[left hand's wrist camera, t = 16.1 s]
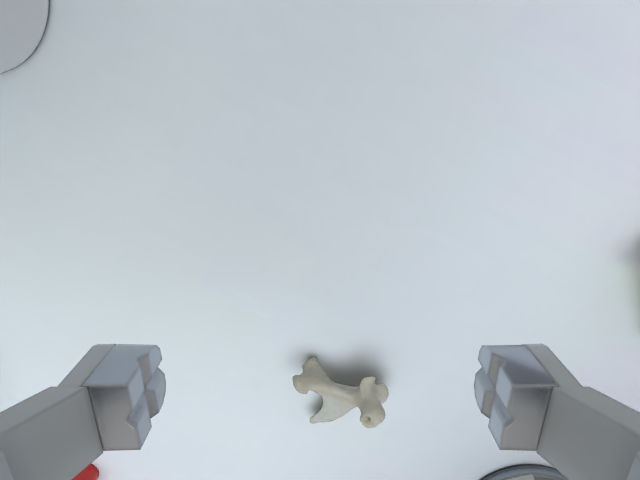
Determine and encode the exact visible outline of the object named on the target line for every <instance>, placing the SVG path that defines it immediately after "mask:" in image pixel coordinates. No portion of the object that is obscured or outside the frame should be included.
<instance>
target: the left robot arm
mask: <svg viewBox="0 0 640 480" xmlns="http://www.w3.org/2000/svg"><path fill="white" fill-rule="evenodd" d="M48 8H49V0H0V73H3V72H6V71H9V70H11V69H13V68H15V67H17V66H19V65H20V64H21V63H23V62H24V61H25V60H26V59H27V58H28V57H29V56H30V55H31V54H32V53H33V52H34V50H35V49H36V47H37V46H38V44H39V42H40V40H41V38H42V36H43V33H44V30H45V27H46V23H47V18H48ZM161 360H162V356H161V352H160V348H159V347H158V346H157V345H134V344H117V345H116V344H97V345H94V346H93V347H92V348H91V349H90V350H89V351H88V352H87V353H86V355H85V356H84V357H83V358H82V359H81V360H80V361H79V362H78V364H77V365H76V366H75V367H74V368H73V369H72V370H71V372H70V373H69V374H68V375H67V376H66V377H65V378H64V380H63V381H62V382H61V383H60V384H59V385H58V386H57V387H49V388H47V389H45V390H43V391H41V392H39V393H37V394H36V395H34V396H32V397H30V398H28V399H26V400H24V401H22V402H20V403H18V404H16V405H14V406H12V407H10V408H8V409H6V410H4V411H2V412H0V480H72V479H73V478H74V477H75V476H76V475H78V474H79V473H80V472H81V471H82V470H83V469H85V468H86V467H87V466H88V465H89V464H91V463H92V462H93V461H94V460H95V459H96V458H98V457H99V456H100V455H101V454H102V453H103V451H111V450H140V449H141V447H142V445H143V443H144V441H145V439H146V437H147V435H148V433H149V431H150V429H151V427H152V426H151V420H150V418H152V417H153V416H155V415H156V414H157V413H159V411H160V409H161V407H162V404H163V401H164V397H165V392H166V381H165V374H164V373H163V372H162V371H161V370H160V369H159V368H158V366H159V364H160V362H161ZM478 360H479V362H480V364H481V366H482V368H481V369H480V370H479V371H478V372H477V373H476V374H475V382H474V390H475V398H476V401H477V405H478V407H479V409H480V411H481V413H483V414H484V415H485V416H487V417H488V418H490V420H489V426H488V427H489V429H490V431H491V433H492V435H493V437H494V439H495V441H496V443H497V445H498V447H499V449H500V450H529V451H537V453H538V454H539V455H540V456H541V457H543V458H544V459H545V460H546V461H547V462H548V463H550V464H551V465H552V466H553V467H554V468H556V469H557V470H558V471H559V472H560V473H561V474H563V475H564V476H565V477H566V478H567V479H568V480H640V412H638V411H636V410H634V409H632V408H630V407H628V406H626V405H624V404H622V403H620V402H618V401H616V400H614V399H612V398H610V397H608V396H606V395H604V394H602V393H601V392H599V391H597V390H595V389H593V388H591V387H583V386H582V385H581V384H580V383H579V382H578V381H577V380H576V378H575V377H574V376H573V375H572V374H571V373H570V372H569V370H568V369H567V368H566V367H565V366H564V365H563V364H562V362H561V361H560V360H559V359H558V358H557V357H556V356H555V355H554V353H553V352H552V351H551V350H550V349H549V348H548V347H547V346H546V345H544V344H522V345H482V347H481V349H480V351H479V356H478Z"/></svg>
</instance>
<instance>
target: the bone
mask: <svg viewBox="0 0 640 480" xmlns="http://www.w3.org/2000/svg"><path fill="white" fill-rule="evenodd" d="M302 368H303V373H302V374H301V375H295V376H293V385H294V387H295V389H296V390H297V391H298V392H299V393H302V394H307V392H308V391H309V390H312V391H314V392H316V393H318V394H319V395H321V397H322V399H323V405H322V408H321V409H320V411H319V412H318V413H316V414H315V415H314V416H312V417H311V418H310V423H318V422H329V421H333V420H335V419H337V418H339V417H341V416H343V415H345V414H346V413H347V412H349V411H350V410H351V409H353V408H355V407H357V406H358V407H359V409H360V411H361V416H360V421H361V422H362V424H363V426H365V427H367V428H373V427H376V426H377V425H378V424H380V423H381V422H382V421H383V420H384V419H385V411H384V409H383V407H382V405H381V404H382V403H384V402H385V401H386V400H387V398H388V389H387V387H386V385H385V384H384V383H382V384H375V380H376V378H375V377H372V376H370V377H365V378H363V379H362V381H361V383H360V386H347V385H343V384H338V383H335V382H333V381H332V380H331V379H330V378H329V377H328V375H327V374H326V373H325V371H324V370H323V369H322V368H321V367H320V365H319V363H318V361H317V359H316V358H315V357H313V358H310V359H308V360H307V361H306V362H305V364H304V365H303V366H302Z"/></svg>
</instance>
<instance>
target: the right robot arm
mask: <svg viewBox="0 0 640 480" xmlns="http://www.w3.org/2000/svg"><path fill="white" fill-rule="evenodd" d="M482 480H568V479H567V478H566V477H565V476H564V475H563V474H561V473H560V472H559V471H557V470H555V469H552V468H548V467H544V466H536V465H524V466H516V467H511V468H506V469H503V470H500V471H498V472H495V473H493V474H491V475H489V476H487V477H485V478H484V479H482Z"/></svg>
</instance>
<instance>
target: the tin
mask: <svg viewBox="0 0 640 480" xmlns="http://www.w3.org/2000/svg"><path fill="white" fill-rule="evenodd" d="M98 477H99V472H98V470H97V468H96V467H95V466H93V465H92V464H89V465H88V466H87V467H86V468H85V469H83V470H82V471H81V472H80V473H79V474H78V475H76V476H75V477H74V478H73V479H72V480H97V479H98Z"/></svg>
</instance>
